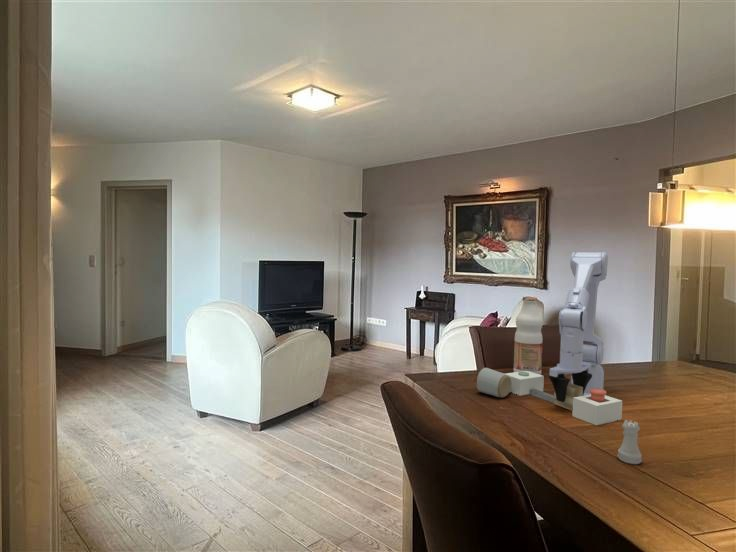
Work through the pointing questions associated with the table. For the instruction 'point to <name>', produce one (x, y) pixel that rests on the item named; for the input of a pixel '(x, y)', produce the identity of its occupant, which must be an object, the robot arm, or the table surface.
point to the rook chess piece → (630, 444)
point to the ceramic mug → (493, 383)
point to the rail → (542, 395)
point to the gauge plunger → (597, 394)
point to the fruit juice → (528, 338)
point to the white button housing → (597, 409)
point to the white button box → (525, 382)
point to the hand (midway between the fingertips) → (569, 399)
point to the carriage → (569, 396)
